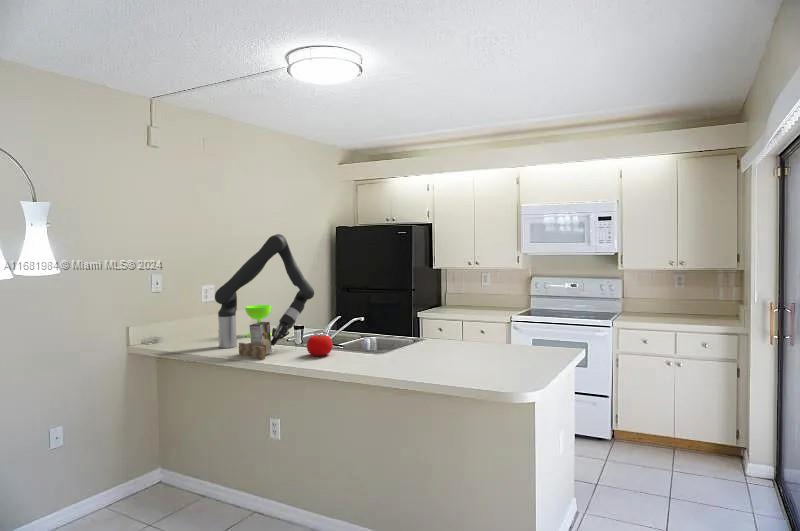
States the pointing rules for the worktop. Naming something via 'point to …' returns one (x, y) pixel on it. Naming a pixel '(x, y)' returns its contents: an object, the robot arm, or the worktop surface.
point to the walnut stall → (252, 350)
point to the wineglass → (258, 312)
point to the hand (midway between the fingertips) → (271, 344)
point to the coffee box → (261, 335)
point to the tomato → (319, 345)
